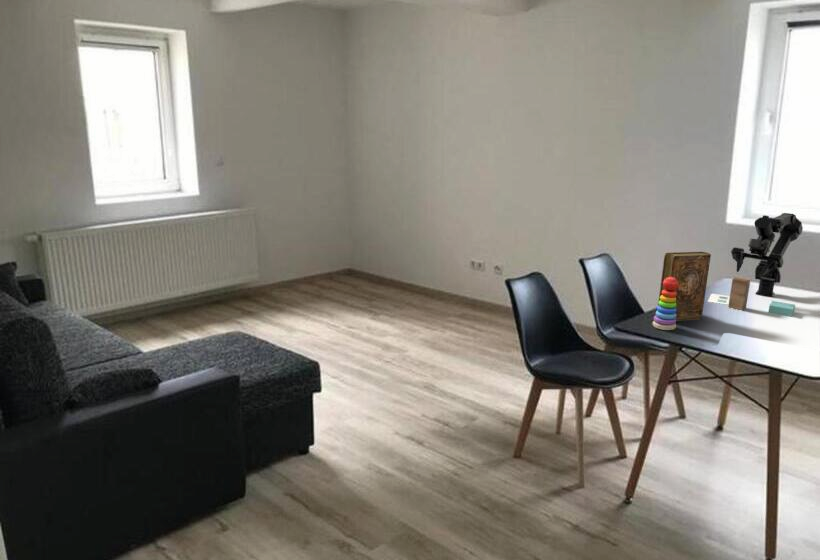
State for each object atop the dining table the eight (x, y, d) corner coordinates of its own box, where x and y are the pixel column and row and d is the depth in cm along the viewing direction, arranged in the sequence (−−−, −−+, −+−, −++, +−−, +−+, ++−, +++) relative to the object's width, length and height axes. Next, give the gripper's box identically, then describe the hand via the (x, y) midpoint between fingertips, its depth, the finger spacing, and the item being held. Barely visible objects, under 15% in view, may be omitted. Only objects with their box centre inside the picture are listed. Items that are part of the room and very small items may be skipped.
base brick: (771, 307, 261) (772, 300, 261) (793, 311, 257) (795, 304, 256) (768, 312, 255) (769, 305, 254) (791, 316, 251) (792, 309, 250)
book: (695, 314, 251) (703, 251, 244) (704, 319, 246) (713, 254, 239) (656, 316, 248) (664, 252, 241) (664, 321, 242) (673, 256, 236)
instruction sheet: (711, 293, 280) (711, 293, 280) (737, 297, 275) (737, 296, 275) (707, 301, 268) (707, 301, 268) (734, 305, 263) (734, 305, 263)
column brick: (733, 305, 264) (737, 276, 260) (746, 307, 260) (750, 279, 257) (728, 307, 261) (732, 278, 257) (741, 310, 257) (745, 281, 254)
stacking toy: (673, 332, 231) (680, 281, 226) (650, 328, 235) (656, 278, 230) (677, 326, 237) (684, 276, 232) (654, 322, 241) (661, 273, 236)
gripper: (736, 227, 267) (721, 257, 263) (786, 234, 255) (771, 266, 250) (740, 244, 275) (726, 273, 270) (789, 251, 262) (775, 282, 257)
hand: (749, 273), depth 262 cm, fingers open, 9 cm apart
